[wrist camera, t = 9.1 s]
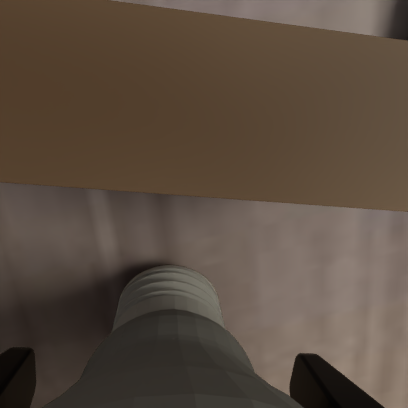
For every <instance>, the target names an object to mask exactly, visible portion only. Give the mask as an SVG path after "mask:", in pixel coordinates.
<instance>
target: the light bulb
mask: <svg viewBox="0 0 408 408" xmlns="http://www.w3.org/2000/svg"><path fill="white" fill-rule="evenodd" d="M42 408H304V407H302V406H301V405H300V404H299V403H297V402H296V401H295V400H294V399H292V398H291V397H290V396H289V395H287V394H285V393H284V392H282V391H280V390H278V389H276V388H275V387H273V386H271V385H269V384H268V383H267V382H266V381H264V380H263V379H262V378H261V377H259V376H258V375H257V374H256V373H255V372H254V369H253V367H252V365H251V363H250V360H249V358H248V357H247V355H246V353H245V351H244V349H243V348H242V347H241V346H240V344H239V343H238V342H237V340H236V339H235V338H234V337H233V336H232V335H231V334H230V333H229V332H228V331H227V330H226V329H225V325H224V322H223V317H222V313H221V309H220V304H219V300H218V295H217V293H216V291H215V289H214V287H213V286H212V284H211V283H210V282H209V280H207V279H206V278H205V277H204V276H203V275H201V274H200V273H198V272H196V271H194V270H192V269H189V268H186V267H182V266H175V265H164V266H159V267H153V268H151V269H148V270H146V271H143V272H142V273H140V274H138V275H137V276H135V277H134V278H133V279H132V280H131V281H130V282H129V283H128V284H127V286H126V287H125V288H124V290H123V292H122V294H121V296H120V299H119V303H118V308H117V312H116V316H115V321H114V323H113V328H112V332H111V334H110V335H109V336H108V337H107V338H106V339H105V340H104V341H103V342H102V343H101V344H100V345H99V346H98V348H97V349H96V351H95V352H94V354H93V355H92V356H91V358H90V359H89V361H88V363H87V365H86V367H85V369H84V371H83V373H82V376H81V378H80V380H79V381H78V382H77V383H75V384H74V385H73V386H72V387H71V388H69V389H68V390H67V391H66V392H65V393H63V394H62V395H61V396H60V397H58V398H57V399H55V400H53V401H52V402H50V403H49V404H47V405H45V406H44V407H42Z"/></svg>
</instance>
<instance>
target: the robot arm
mask: <svg viewBox="0 0 408 408" xmlns="http://www.w3.org/2000/svg"><path fill="white" fill-rule="evenodd" d="M35 387H36V368H35V353H34V350H33V349H32V348H30V347H12V348H9V349H8V350H6V351H5V352H3V353H2V354H0V408H30V405H31V402H32V399H33V396H34V392H35ZM290 396H291V398H292V399H294V400H295V401H296V402H297V403H299V404H300V405H301V406H302V407H304V408H384V407H383V406H382V405H381V404H379V403H378V402H377V401H376V400H374V399H373V398H372V397H371V396H369V395H368V394H367V393H366V392H364V391H363V390H362V389H360V388H359V387H358V386H357V385H355V384H354V383H353V382H352V381H350V380H349V379H348V378H347V377H345V376H344V375H343V374H342V373H340V372H339V371H338V370H336V369H335V368H334V367H333V366H331V365H330V364H329V363H328V362H326V361H325V360H324V359H323V358H321V357H320V356H319V355H317V354H312V353H300V354H298V355H297V356H296V358H295V362H294V367H293V371H292V376H291V380H290Z"/></svg>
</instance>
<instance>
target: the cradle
mask: <svg viewBox="0 0 408 408" xmlns="http://www.w3.org/2000/svg"><path fill="white" fill-rule="evenodd" d="M0 182H6V183H20V184H33V185H47V186H61V187H75V188H88V189H102V190H116V191H130V192H143V193H157V194H171V195H185V196H198V197H212V198H226V199H239V200H253V201H267V202H281V203H294V204H308V205H322V206H336V207H349V208H363V209H377V210H391V211H404V212H408V41H407V40H399V39H392V38H385V37H377V36H370V35H362V34H355V33H348V32H340V31H333V30H325V29H318V28H311V27H303V26H296V25H288V24H281V23H273V22H266V21H259V20H251V19H244V18H236V17H229V16H222V15H214V14H207V13H199V12H192V11H185V10H177V9H170V8H162V7H155V6H148V5H140V4H133V3H125V2H118V1H111V0H0Z"/></svg>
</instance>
